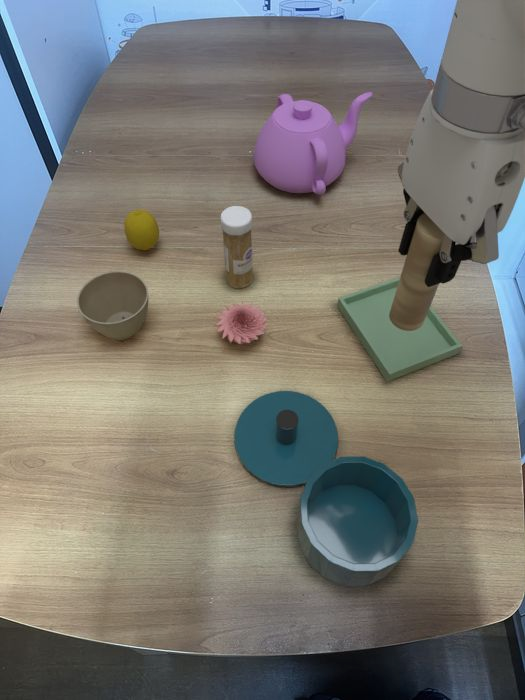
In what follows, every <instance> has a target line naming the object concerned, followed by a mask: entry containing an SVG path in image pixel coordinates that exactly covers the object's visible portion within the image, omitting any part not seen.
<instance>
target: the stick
mask: <svg viewBox="0 0 525 700" xmlns="http://www.w3.org/2000/svg"><path fill="white" fill-rule="evenodd" d="M442 238H443V231H442V230H441V229H440V228H439V227H438V226H437V225H436V224H435V223H434V222H433V221H432V220H431V219H430V218H429V217H428V216H427V214H426V213H424V214H422V215H421V216H420V217H419V218H418V221H417V224H416V227H415V230H414V234H413V237H412V240H411V244H410V247H409V250H408V253H407V255H406V257H405V260H404V263H403V267H402V269H401V272H400V276H399V277H400V280H399V283H398V286H397V289H396V293H395V296H394V299H393V303H392V306H391V309H390V313H389V318H390V320H391V322H392V324H393V325H394V326H396V327H397V328H399V329H401V330H405V331H413V330H417V329H419V328H420V327H421V326H422V325H423V323H424V321H425V318H426V316H427V313H428V311H429V308H430V306H431V307H432V303H433V301H434V299H435V295H436V293H437V290H438V288H439V286H440V283H439V284H436V285H434V286H431V287H427V285H426V284H425V278H426V275H427V272H428V270H429V267H430V264H431V261H432V258H433V256H434V255H436V254H438V253H440V249H441V244H442Z"/></svg>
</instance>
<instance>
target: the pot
mask: <svg viewBox="0 0 525 700" xmlns="http://www.w3.org/2000/svg"><path fill="white" fill-rule="evenodd" d="M298 505H299V506H298V513H297V518H296V527H297V530H296V531H297V541H298V545H299V547H300V550H301V552H302V554H303V556H304V559H306V561H307V562H308V564H309V566H311V567H312V569H313V570H314V571H316V572H317V573H318V574H319V575H320V576H322V577H323V578H325V579H326V580H328V581H329V582H332V583H334V584H337V585H340V586H345V587H352V588H358V587H360V588H361V587H366V586H370V585H373V584H375V583H377V582H379V581H381V580H382V579H385V578H386V577H388V575H389V574H390V573H391V572H392V570H393V569H394V568H395V567H396V566H397V564H398V563H400V560H401V559H403V557H404V556H405V555H406V553H407V552H408V551H409V549H410V548H411V547H412V546H413V545H414V541H415V538H416V537H415V536H416V532H417V529H418V526H419V525H418V524H419V518H418V513H417V507H416V501H415V497H414V496H413V493H412V492H411V491H410V489H409V487H408V486H407V484H406V482H405V480H404V479H403V478H402V477H401V476H400V475H399V474H397V472H395V471H394V470H393V469H391V468H390V467H389V466H388V465H386V463H383V462H380V461H377V460H375V459H372V458H370V457H366V456H363V455H361V456H360V455H358V456H355V455H354V456H340V457H337V458H334V459H333V460H332V461H330V462H327V463H325V464H323V465H321V466H320V467H319V468H318V469H317V470H316V471H315V472H314V473H313V475H312V476H311V477H310V478H309V479H308V480H307V482H306V483H305V484H304V489H303V490H302V494H301V496H300V499H299V504H298Z"/></svg>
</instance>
